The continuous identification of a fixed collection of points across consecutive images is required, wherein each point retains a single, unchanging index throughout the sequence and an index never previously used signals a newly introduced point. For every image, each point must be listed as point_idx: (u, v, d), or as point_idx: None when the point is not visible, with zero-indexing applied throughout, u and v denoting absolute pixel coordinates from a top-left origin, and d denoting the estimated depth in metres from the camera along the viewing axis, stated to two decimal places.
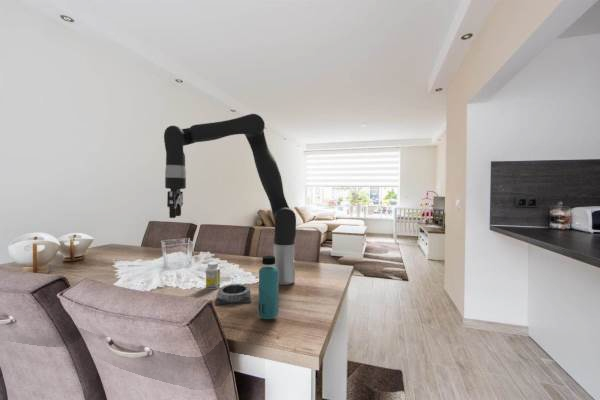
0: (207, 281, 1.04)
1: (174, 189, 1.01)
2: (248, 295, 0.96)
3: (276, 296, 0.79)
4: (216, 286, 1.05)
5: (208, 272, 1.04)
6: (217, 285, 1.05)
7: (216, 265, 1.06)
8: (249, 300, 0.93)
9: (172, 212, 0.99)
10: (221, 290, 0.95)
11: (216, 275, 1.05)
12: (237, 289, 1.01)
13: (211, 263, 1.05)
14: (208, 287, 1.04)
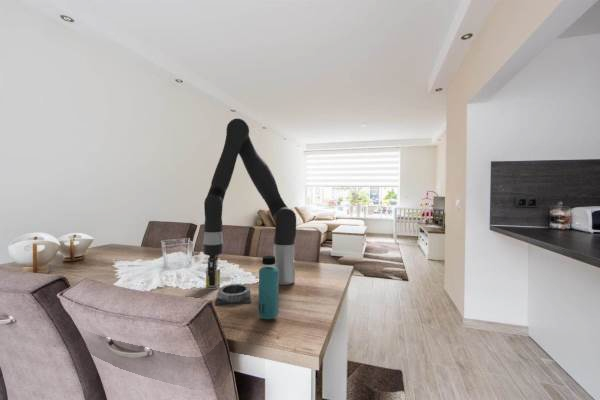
0: (207, 281, 1.04)
1: (213, 256, 1.03)
2: (248, 295, 0.96)
3: (276, 296, 0.79)
4: (216, 286, 1.05)
5: None
6: (217, 285, 1.05)
7: None
8: (249, 300, 0.93)
9: (212, 280, 1.03)
10: (221, 290, 0.95)
11: (216, 275, 1.05)
12: (237, 289, 1.01)
13: None
14: (208, 287, 1.04)
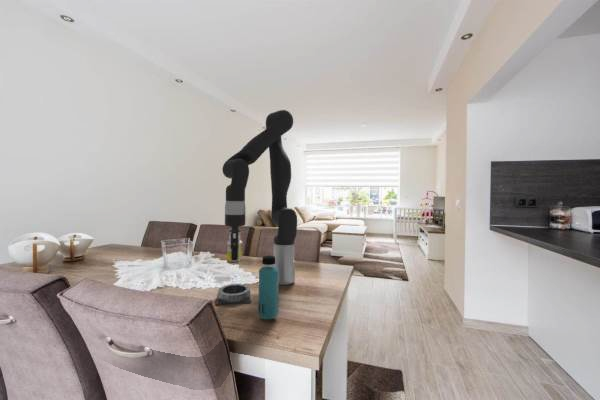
0: (229, 255, 0.94)
1: (236, 227, 0.93)
2: (248, 295, 0.96)
3: (276, 296, 0.79)
4: (239, 261, 0.95)
5: (230, 245, 0.94)
6: (240, 260, 0.95)
7: None
8: (249, 300, 0.93)
9: (235, 254, 0.93)
10: (221, 290, 0.95)
11: (238, 249, 0.95)
12: (237, 289, 1.01)
13: None
14: (230, 262, 0.94)
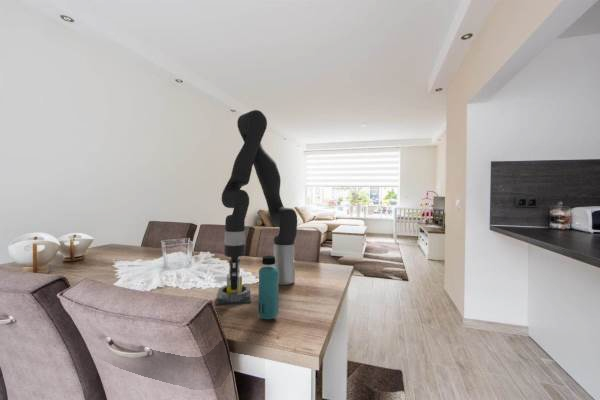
0: (228, 289, 0.94)
1: (235, 258, 0.93)
2: (248, 295, 0.96)
3: (276, 296, 0.79)
4: None
5: (229, 279, 0.94)
6: None
7: None
8: (249, 300, 0.93)
9: (234, 284, 0.92)
10: (221, 290, 0.95)
11: (238, 283, 0.95)
12: None
13: None
14: None
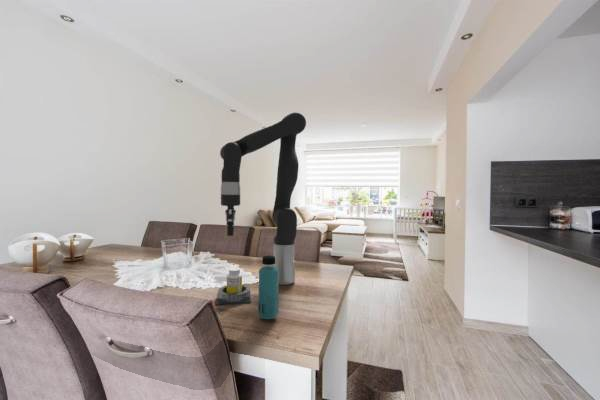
0: (228, 289, 0.94)
1: (231, 206, 0.99)
2: (248, 295, 0.96)
3: (276, 296, 0.79)
4: None
5: (229, 279, 0.94)
6: None
7: (238, 271, 0.96)
8: (249, 300, 0.93)
9: (230, 230, 0.98)
10: (221, 290, 0.95)
11: (238, 283, 0.95)
12: None
13: (232, 270, 0.95)
14: None
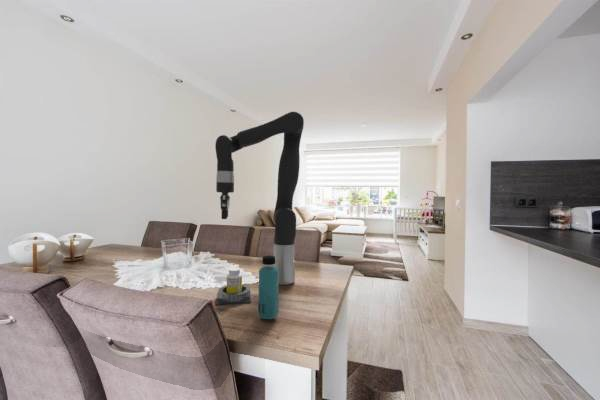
0: (228, 289, 0.94)
1: (225, 193, 1.11)
2: (248, 295, 0.96)
3: (276, 296, 0.79)
4: None
5: (229, 279, 0.94)
6: None
7: (238, 271, 0.96)
8: (249, 300, 0.93)
9: (224, 214, 1.09)
10: (221, 290, 0.95)
11: (238, 283, 0.95)
12: None
13: (232, 270, 0.95)
14: None
